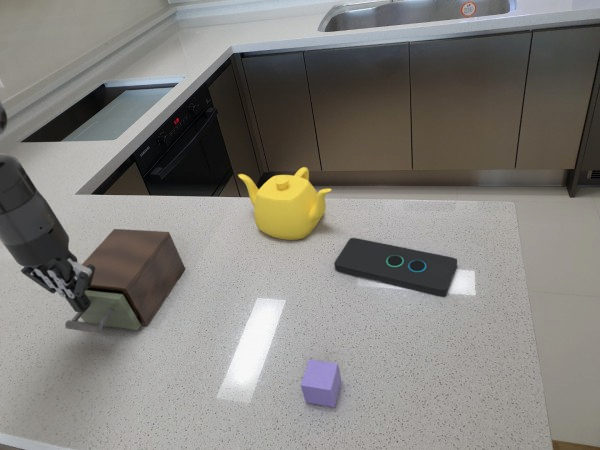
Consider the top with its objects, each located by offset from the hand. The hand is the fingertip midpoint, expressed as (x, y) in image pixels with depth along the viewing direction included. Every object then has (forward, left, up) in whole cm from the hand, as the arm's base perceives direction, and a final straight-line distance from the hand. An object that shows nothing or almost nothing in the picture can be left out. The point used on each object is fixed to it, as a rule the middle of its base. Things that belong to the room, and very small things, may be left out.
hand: (84, 308), depth 75 cm
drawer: (+6, -2, -7) cm, 10 cm away
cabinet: (+11, -4, -8) cm, 14 cm away
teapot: (+26, -35, -8) cm, 44 cm away
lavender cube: (-16, -37, -8) cm, 41 cm away
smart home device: (+6, -52, -8) cm, 53 cm away
